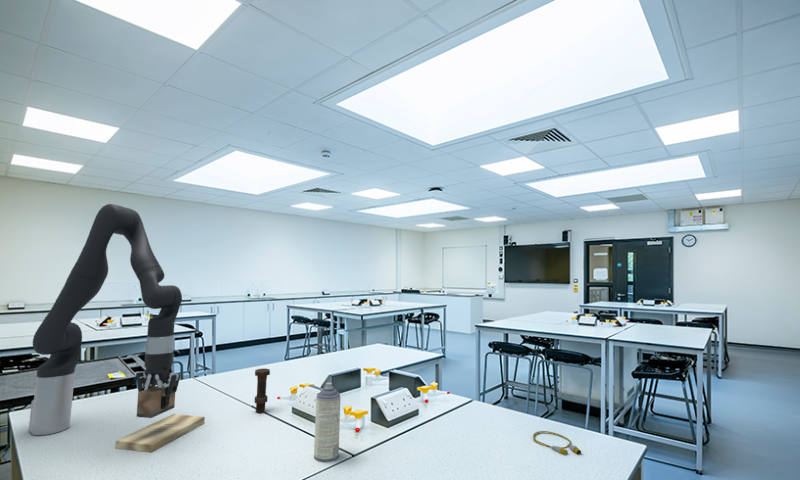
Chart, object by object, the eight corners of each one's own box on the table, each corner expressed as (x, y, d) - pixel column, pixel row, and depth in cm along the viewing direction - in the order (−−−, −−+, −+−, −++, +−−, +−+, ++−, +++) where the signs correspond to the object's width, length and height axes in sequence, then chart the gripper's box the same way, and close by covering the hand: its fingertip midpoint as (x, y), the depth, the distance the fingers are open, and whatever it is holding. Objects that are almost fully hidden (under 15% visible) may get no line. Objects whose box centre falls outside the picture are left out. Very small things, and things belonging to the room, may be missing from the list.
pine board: (115, 448, 111) (115, 440, 111) (173, 419, 132) (173, 413, 133) (151, 452, 109) (151, 444, 109) (204, 423, 130) (204, 416, 130)
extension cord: (539, 454, 113) (538, 447, 114) (529, 433, 129) (529, 427, 129) (583, 458, 111) (582, 451, 112) (568, 436, 127) (568, 430, 127)
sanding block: (136, 416, 114) (138, 392, 114) (160, 406, 122) (161, 383, 123) (151, 418, 113) (152, 393, 113) (174, 407, 121) (175, 384, 122)
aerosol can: (339, 450, 112) (341, 379, 114) (337, 461, 106) (340, 386, 107) (315, 450, 112) (318, 380, 113) (312, 462, 105) (315, 386, 107)
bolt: (257, 415, 138) (259, 372, 139) (249, 412, 141) (251, 370, 142) (271, 411, 142) (273, 369, 144) (263, 408, 145) (265, 367, 147)
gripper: (129, 351, 117) (125, 410, 115) (171, 354, 114) (167, 413, 113) (149, 347, 124) (146, 401, 123) (189, 349, 121) (186, 405, 120)
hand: (156, 407), depth 118 cm, fingers closed on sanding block, 5 cm apart
